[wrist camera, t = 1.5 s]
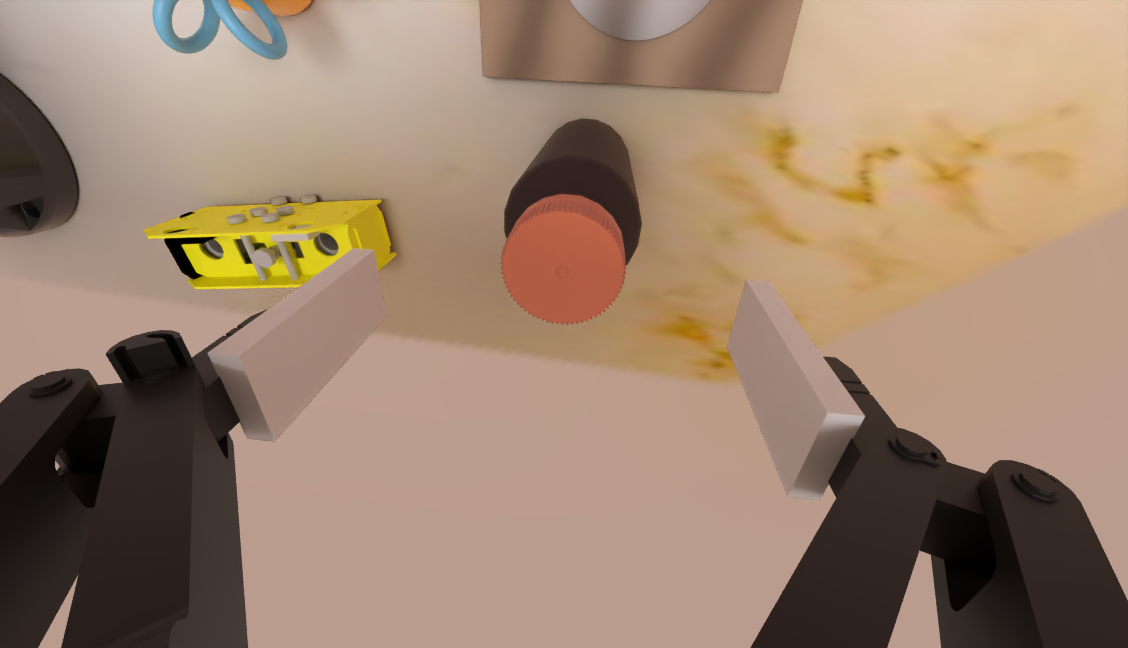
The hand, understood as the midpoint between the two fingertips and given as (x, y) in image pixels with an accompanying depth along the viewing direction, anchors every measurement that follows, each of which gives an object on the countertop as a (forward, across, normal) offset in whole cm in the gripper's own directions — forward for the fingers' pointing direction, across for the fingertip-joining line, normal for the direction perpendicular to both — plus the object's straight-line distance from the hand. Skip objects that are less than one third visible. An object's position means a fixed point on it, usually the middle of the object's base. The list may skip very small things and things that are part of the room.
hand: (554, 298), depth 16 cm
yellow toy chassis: (+22, -24, -6) cm, 33 cm away
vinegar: (+22, 0, 0) cm, 22 cm away
